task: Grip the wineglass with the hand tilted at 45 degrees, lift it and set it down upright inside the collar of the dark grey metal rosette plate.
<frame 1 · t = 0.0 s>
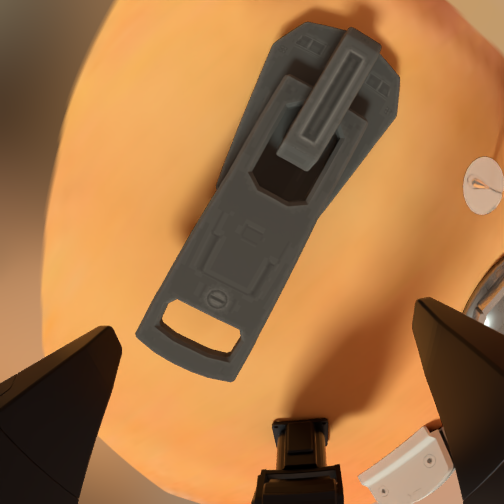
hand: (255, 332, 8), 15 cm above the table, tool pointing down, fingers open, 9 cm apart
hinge: (405, 453, 35), on the table
wineglass: (483, 185, 19), on the table
zipper pull: (269, 191, 22), on the table
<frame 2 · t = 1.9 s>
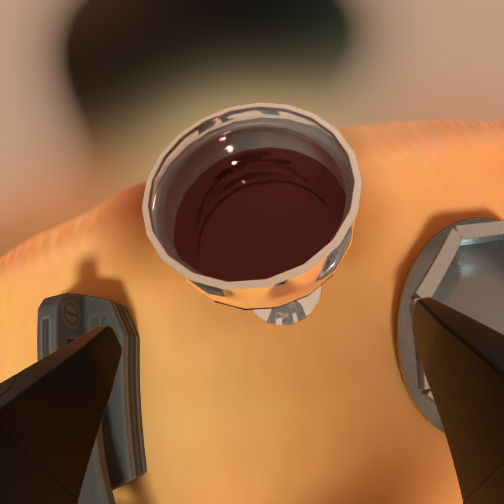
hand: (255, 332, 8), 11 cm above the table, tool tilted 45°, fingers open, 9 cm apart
rosette plate: (494, 326, 16), on the table
wineglass: (283, 287, 20), on the table
zipper pull: (110, 456, 17), on the table
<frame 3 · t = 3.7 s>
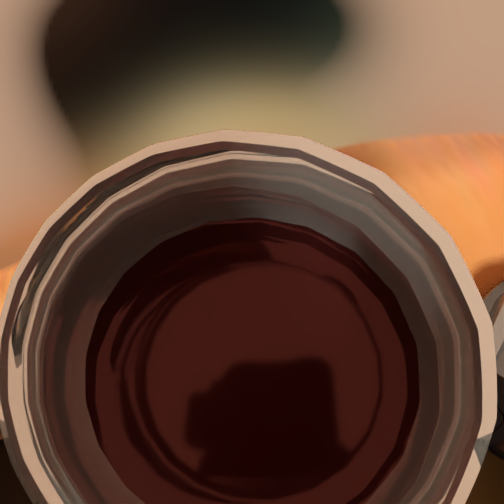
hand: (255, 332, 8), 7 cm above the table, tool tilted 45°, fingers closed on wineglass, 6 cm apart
wineglass: (280, 375, 14), on the table, touching gripper
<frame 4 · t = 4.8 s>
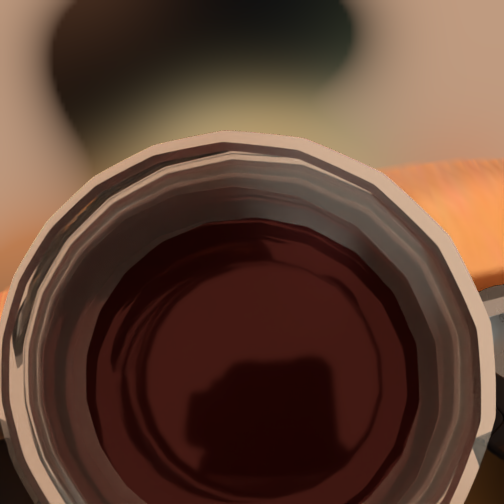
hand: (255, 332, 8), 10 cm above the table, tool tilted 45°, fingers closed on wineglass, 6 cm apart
rosette plate: (500, 399, 13), on the table
wineglass: (280, 375, 14), point 4 cm above the table, touching gripper
when the fingers open (8 cm above the table, at t = 7.8 s): wineglass stays where it is, resting on rosette plate.
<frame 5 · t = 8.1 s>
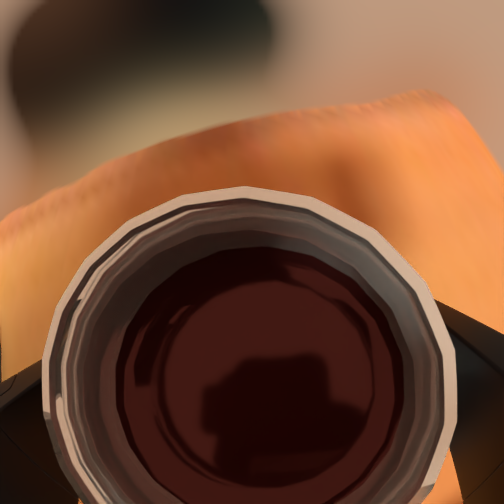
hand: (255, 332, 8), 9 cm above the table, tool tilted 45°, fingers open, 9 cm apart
wineglass: (283, 375, 15), point 1 cm above the table, touching rosette plate
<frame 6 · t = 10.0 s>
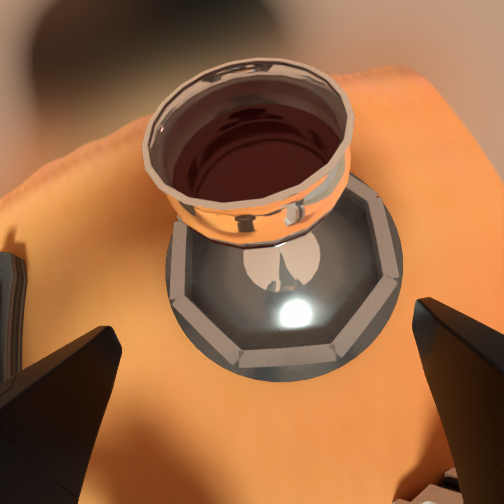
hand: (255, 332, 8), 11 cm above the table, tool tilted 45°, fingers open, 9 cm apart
rosette plate: (282, 258, 20), on the table
wineglass: (281, 255, 20), point 1 cm above the table, touching rosette plate
zipper pull: (6, 372, 21), on the table
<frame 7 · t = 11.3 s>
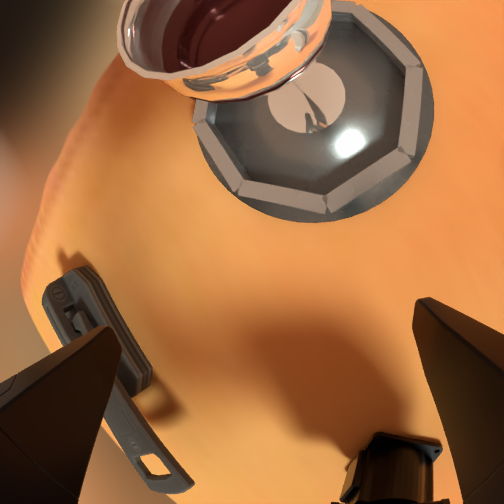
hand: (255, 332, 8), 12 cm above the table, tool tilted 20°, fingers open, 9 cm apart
rosette plate: (307, 98, 18), on the table
wineglass: (306, 96, 17), point 1 cm above the table, touching rosette plate
zipper pull: (134, 369, 29), on the table
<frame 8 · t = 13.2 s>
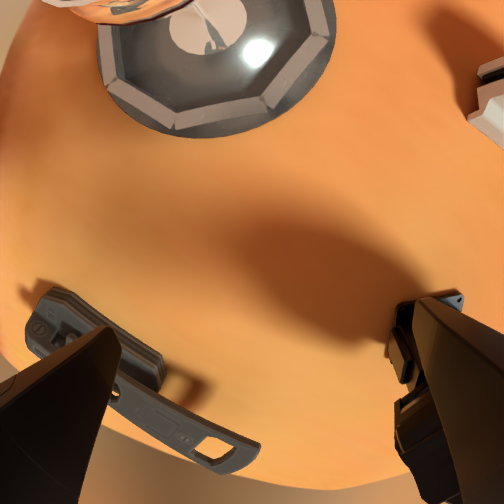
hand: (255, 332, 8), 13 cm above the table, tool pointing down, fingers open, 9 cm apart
rosette plate: (208, 24, 15), on the table
wineglass: (207, 21, 15), point 1 cm above the table, touching rosette plate
zipper pull: (144, 366, 28), on the table
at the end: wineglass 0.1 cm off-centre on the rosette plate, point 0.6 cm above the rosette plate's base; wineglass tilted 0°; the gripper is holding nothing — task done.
